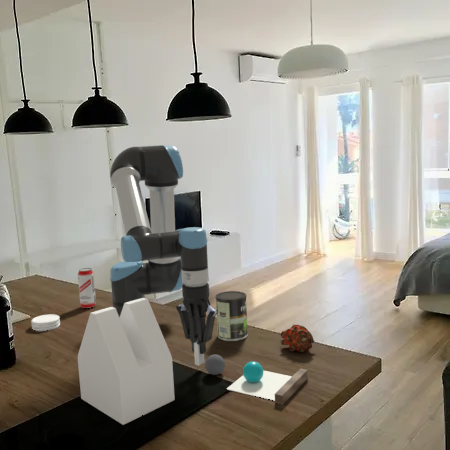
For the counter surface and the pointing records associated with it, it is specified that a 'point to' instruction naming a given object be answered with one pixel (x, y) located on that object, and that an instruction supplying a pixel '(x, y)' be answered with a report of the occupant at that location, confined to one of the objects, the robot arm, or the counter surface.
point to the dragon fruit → (297, 338)
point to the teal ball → (253, 372)
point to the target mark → (261, 385)
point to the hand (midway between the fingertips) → (199, 363)
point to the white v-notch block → (125, 362)
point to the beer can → (86, 288)
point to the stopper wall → (291, 386)
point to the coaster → (45, 322)
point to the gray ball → (215, 364)
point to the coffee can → (231, 315)
